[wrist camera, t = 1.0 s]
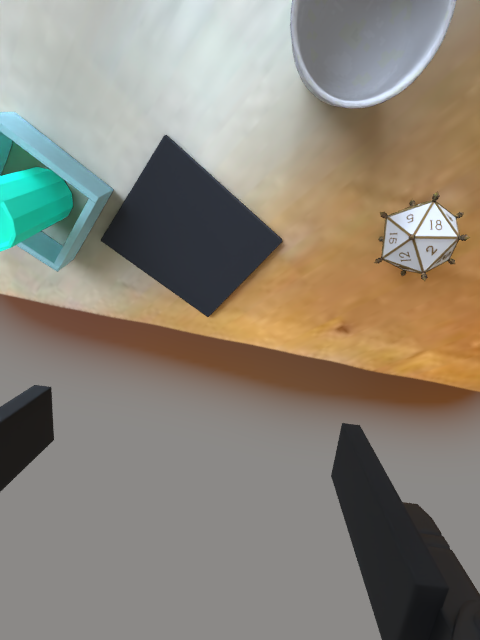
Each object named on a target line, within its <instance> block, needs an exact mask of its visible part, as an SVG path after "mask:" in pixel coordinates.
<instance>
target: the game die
mask: <svg viewBox="0 0 480 640" xmlns="http://www.w3.org/2000/svg"><path fill="white" fill-rule="evenodd" d="M438 197H439V193H438V192H437V193H435V194H433V197H432V199H433V200H432V201H428V202H424V203H421V204H417V205H415V201H413V200H411V202H410V206H411V207H408V208H406V209H403V210H401V211H398V212H396V213H393V214H391V215H387V213H385V212H380V214H381V217H383V218H385V219H386V220H385V229H384V237H380V238H379V239H378V240H379V241H383V247H382V256H381V258H378V259H376V261H375V263H380V262H381V261H382V260H384V261H386V262H388V263H390V264H392V265H394V266H396V267H398V268H400V269H402V270H403V271H401V275H402V276H404V275H405V273H406V271H409V272H415V273H421V274H422V275H421V277H422V278H421V279H423V280H424V281H425V280H426V278H428V277H427V275H426V272H428V271H430V270H431V269H433V268H435V267H437V266H439V265H441V264H443V263H444V262H446V261H448V262H449V263H450V264H455V260H453V259H450V257H451V255H452V253H453V251H454V249H455V247H456V245H457V243H458V241H459V240H462V241H463V240H464V241H466V240H467V239H468V238H470V237H468V236H467V234H466V235H462V236H460V234H459V229H458V224H457V218H460V217H462V215H463V214H464V213H460V212H459V213H458V214H456V215H455V216H454V215H453V214H452V213H450V212H449V211H448V210H447V209H445V208H444V207H443V206H441V205H440V204H439V203H438V202H436V200H437V199H438Z"/></svg>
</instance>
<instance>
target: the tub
mask: <svg viewBox="0 0 480 640" xmlns="http://www.w3.org/2000/svg"><path fill="white" fill-rule="evenodd" d="M13 141H14V142H15V143H16V144H18V145H19V146H20V147H22V148H23V149H24V150H26V151H27V152H28V153H30V154H31V155H32V156H34V157H35V158H36V159H38V160H39V161H40V162H42V163H43V164H44V165H46V166H47V167H48V168H50V169H51V170H52V171H53V172H55V173H56V174H57V175H59V176H60V177H61V178H63V179H64V180H65V181H67V182H68V183H69V184H71V185H72V186H73V187H75V188H76V189H77V190H79V191H80V192H81V193H83V194H84V195H85V196H87V197H88V198H89V199H88V201H87V203H86V205H85V207H84V208H83V210H82V212H81V214H80V216H79V218H78V220H77V221H76V223H75V225H74V227H73V229H72V231H71V233H70V235H69V236H68V238H67V240H66V242H65V244H64V246H62V245H60V244H59V243H57V242H56V241H54V240H53V239H52V238H50V237H49V236H47V235H46V234H44V233H43V232H41V231H40V232H38V233H36V234H35V235H33V236H31V237H29V238H27V239H26V240H24V241H22V242H20V243H18V244H16V245H17V246H18V247H20V248H21V249H23V250H25V251H26V252H28V253H29V254H31V255H32V256H34V257H35V258H37V259H39V260H40V261H42V262H43V263H45V264H46V265H48V266H49V267H51V268H52V269H54V270H56V271H57V272H58V271H59V270H60V269H62V268H63V267H64V266H66V265H67V264H68V263H69V262H71V261H72V260H73V259H74V258H75V256H76V254H77V253H78V251H79V249H80V247H81V246H82V244H83V242H84V240H85V239H86V237H87V235H88V234H89V232H90V230H91V228H92V227H93V225H94V223H95V221H96V220H97V218H98V216H99V214H100V213H101V211H102V209H103V207H104V206H105V204H106V202H107V200H108V199H109V197H110V195H111V193H112V192H113V189H112V188H111V187H110V186H108V185H107V184H106V183H104V182H103V181H102V180H101V179H99V178H98V177H97V176H96V175H94V174H93V173H92V172H90V171H89V170H88V169H87V168H85V167H84V166H83V165H82V164H80V163H79V162H78V161H76V160H75V159H74V158H73V157H71V156H70V155H69V154H68V153H66V152H65V151H64V150H62V149H61V148H60V147H59V146H57V145H56V144H55V143H53V142H52V141H51V140H50V139H48V138H47V137H46V136H45V135H43V134H42V133H41V132H39V131H38V130H37V129H36V128H34V127H33V126H32V125H31V124H29V123H28V122H27V121H25V120H24V119H23V118H22V117H20V116H19V115H18V114H17V113H15V112H0V176H1V174H2V171H3V169H4V166H5V163H6V160H7V157H8V155H9V152H10V149H11V146H12V143H13Z"/></svg>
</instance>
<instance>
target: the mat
mask: <svg viewBox="0 0 480 640" xmlns="http://www.w3.org/2000/svg"><path fill="white" fill-rule="evenodd" d="M101 241H102V242H103V243H105V244H106V245H108V246H109V247H110V248H112V249H113V250H115V251H116V252H117V253H119V254H120V255H122V256H123V257H124V258H126V259H127V260H129V261H130V262H131V263H133V264H134V265H136V266H137V267H138V268H140V269H141V270H143V271H144V272H145V273H147V274H148V275H150V276H151V277H152V278H154V279H155V280H157V281H158V282H159V283H161V284H162V285H164V286H165V287H166V288H168V289H169V290H171V291H172V292H173V293H175V294H176V295H178V296H179V297H180V298H182V299H183V300H185V301H186V302H187V303H189V304H190V305H192V306H193V307H194V308H196V309H197V310H199V311H200V312H201V313H203V314H204V315H206V316H207V317H209V316H210V315H211V314H212V313H213V312H214V311H215V310H216V309H217V308H218V307H219V306H220V305H221V304H222V303H223V302H224V301H225V300H226V299H227V297H228V296H229V295H230V294H231V293H232V292H233V291H234V290H235V289H236V288H237V287H238V286H239V285H240V284H241V283H242V282H243V281H244V280H245V279H246V278H247V277H248V276H249V275H250V274H251V273H252V272H253V271H254V270H255V269H256V268H257V267H258V266H259V265H260V264H261V263H262V262H263V261H264V260H265V259H266V258H267V257H268V256H269V255H270V254H271V253H272V252H273V251H274V250H275V249H276V248H277V247H278V246H279V244H280V243H281V242H282V239H281V238H280V237H279V236H278V235H277V234H276V233H274V232H273V231H272V230H271V229H270V228H269V227H268V226H267V225H266V224H265V223H263V222H262V221H261V220H260V219H259V218H258V217H257V216H256V215H255V214H253V213H252V212H251V211H250V210H249V209H248V208H247V207H246V206H245V205H244V204H242V203H241V202H240V201H239V200H238V199H237V198H236V197H235V196H234V195H232V194H231V193H230V192H229V191H228V190H227V189H226V188H225V187H224V186H222V185H221V184H220V183H219V182H218V181H217V180H216V179H215V178H214V177H213V176H211V175H210V174H209V173H208V172H207V171H206V170H205V169H204V168H203V167H201V166H200V165H199V164H198V163H197V162H196V161H195V160H194V159H193V158H192V157H190V156H189V155H188V154H187V153H186V152H185V151H184V150H183V149H182V148H180V147H179V146H178V145H177V144H176V143H175V142H174V141H173V140H172V139H170V138H169V137H168V136H167V135H165V136H164V137H163V139H162V140H161V142H160V144H159V145H158V147H157V149H156V150H155V152H154V153H153V155H152V157H151V158H150V160H149V162H148V163H147V165H146V167H145V168H144V170H143V172H142V173H141V175H140V176H139V178H138V180H137V181H136V183H135V185H134V186H133V188H132V190H131V191H130V193H129V195H128V196H127V198H126V200H125V201H124V203H123V204H122V206H121V208H120V209H119V211H118V213H117V214H116V216H115V218H114V219H113V221H112V223H111V224H110V226H109V228H108V229H107V231H106V232H105V234H104V236H103V237H102V239H101Z"/></svg>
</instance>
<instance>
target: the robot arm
mask: <svg viewBox="0 0 480 640" xmlns="http://www.w3.org/2000/svg"><path fill="white" fill-rule="evenodd" d="M52 414H53V413H52V393H51V387H46V386H38V385H34V386H32V387H31V388H29V389H28V390H26V391H25V392H23V393H21V394H20V395H18V396H17V397H15V398H14V399H12V400H10V401H9V402H7V403H6V404H4V405H3V406H1V407H0V491H1V490H3V489H4V488H5V487H6V486H7V485H8V484H9V483H10V482H11V481H12V480H13V479H14V478H15V477H16V476H17V475H18V474H19V473H20V472H21V471H22V470H23V469H24V468H25V467H26V466H27V465H28V464H29V463H31V462H32V461H33V460H34V459H35V458H36V457H37V456H38V455H39V454H40V453H41V452H42V451H43V450H44V449H45V448H46V447H47V446H48V445H49V444H50V443H51V442H52V441H53V440H54V433H53V416H52ZM331 477H332V480H333V483H334V486H335V489H336V493H337V496H338V499H339V503H340V506H341V509H342V512H343V515H344V519H345V521H346V525H347V528H348V532H349V534H350V538H351V541H352V544H353V548H354V551H355V554H356V557H357V561H358V564H359V567H360V570H361V574H362V576H363V580H364V583H365V586H366V589H367V592H368V596H369V599H370V602H371V606H372V609H373V612H374V615H375V619H376V621H377V625H378V628H379V632H380V634H381V638H382V640H480V594H479V593H478V591H477V589H476V588H475V586H474V585H473V583H472V581H471V580H470V578H469V577H468V575H467V574H466V572H465V570H464V569H463V567H462V565H461V564H460V562H459V561H458V559H457V557H456V556H455V554H454V553H453V551H452V550H450V548H449V545H448V543H447V542H446V540H445V539H444V537H443V536H442V535H441V532H440V530H439V529H438V527H437V526H436V524H435V522H434V521H433V520H432V518H431V517H430V516H429V515H428V514H427V513H426V512H425V511H424V510H423V509H422V508H421V507H419V505H418V504H412V503H403V502H402V501H401V499H400V497H399V496H398V494H397V492H396V490H395V489H394V487H393V485H392V483H391V481H390V479H389V477H388V476H387V474H386V472H385V470H384V468H383V467H382V465H381V463H380V461H379V459H378V458H377V456H376V454H375V452H374V450H373V448H372V447H371V445H370V443H369V441H368V439H367V438H366V436H365V434H364V432H363V430H362V429H361V427H360V425H353V424H345V423H342V427H341V431H340V436H339V441H338V446H337V451H336V456H335V460H334V465H333V470H332V475H331Z"/></svg>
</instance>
